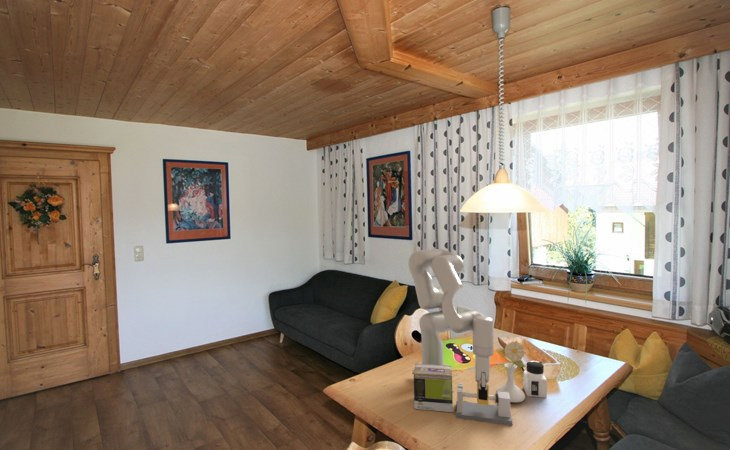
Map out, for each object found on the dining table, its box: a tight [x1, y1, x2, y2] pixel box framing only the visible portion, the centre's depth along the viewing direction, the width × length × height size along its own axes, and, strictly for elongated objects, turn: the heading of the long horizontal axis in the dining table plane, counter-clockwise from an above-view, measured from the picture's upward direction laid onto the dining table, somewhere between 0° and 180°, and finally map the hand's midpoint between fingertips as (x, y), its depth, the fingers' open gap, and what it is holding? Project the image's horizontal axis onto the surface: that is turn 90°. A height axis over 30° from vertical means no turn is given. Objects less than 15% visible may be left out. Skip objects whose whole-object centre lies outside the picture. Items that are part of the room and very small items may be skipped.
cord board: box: [455, 382, 513, 426], centre depth 143 cm, size 20×10×10 cm, turn 75°
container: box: [522, 360, 548, 399], centre depth 159 cm, size 8×8×13 cm
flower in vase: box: [495, 340, 526, 403], centre depth 154 cm, size 13×11×25 cm
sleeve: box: [476, 380, 490, 405], centre depth 143 cm, size 4×4×8 cm
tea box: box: [413, 363, 454, 413], centre depth 150 cm, size 15×10×15 cm, turn 78°
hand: (482, 395), depth 143 cm, fingers closed on sleeve, 4 cm apart
